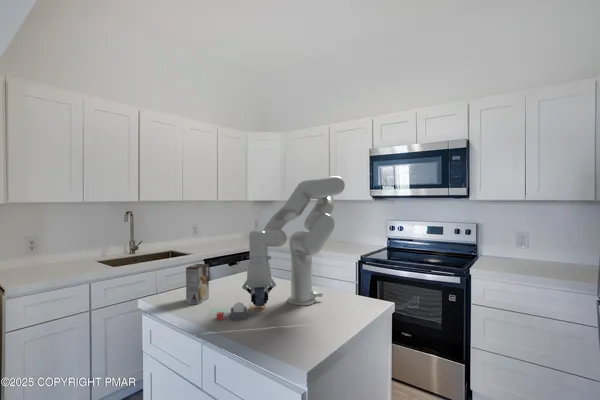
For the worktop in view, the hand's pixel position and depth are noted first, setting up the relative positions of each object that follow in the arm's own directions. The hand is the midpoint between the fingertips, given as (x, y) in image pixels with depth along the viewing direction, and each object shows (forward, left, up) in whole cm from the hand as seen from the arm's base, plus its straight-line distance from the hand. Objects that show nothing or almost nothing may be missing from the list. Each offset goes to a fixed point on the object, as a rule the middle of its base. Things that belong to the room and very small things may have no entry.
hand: (259, 302), depth 128 cm
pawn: (0, 0, -1) cm, 1 cm away
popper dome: (+9, +8, -3) cm, 12 cm away
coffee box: (+27, -16, -3) cm, 31 cm away
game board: (+9, +4, -3) cm, 10 cm away
